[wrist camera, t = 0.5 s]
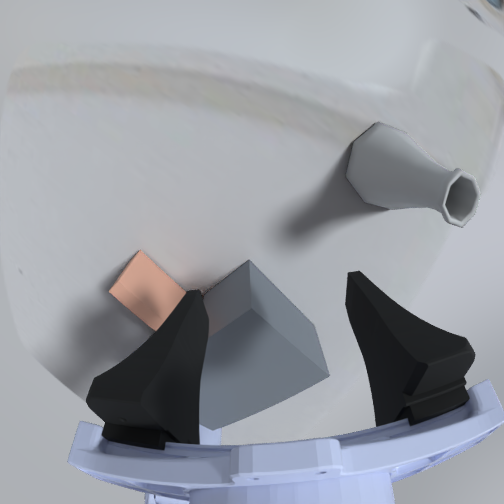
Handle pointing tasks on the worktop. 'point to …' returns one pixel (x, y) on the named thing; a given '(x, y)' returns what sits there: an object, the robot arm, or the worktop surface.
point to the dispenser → (254, 349)
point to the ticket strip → (147, 291)
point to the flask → (409, 176)
